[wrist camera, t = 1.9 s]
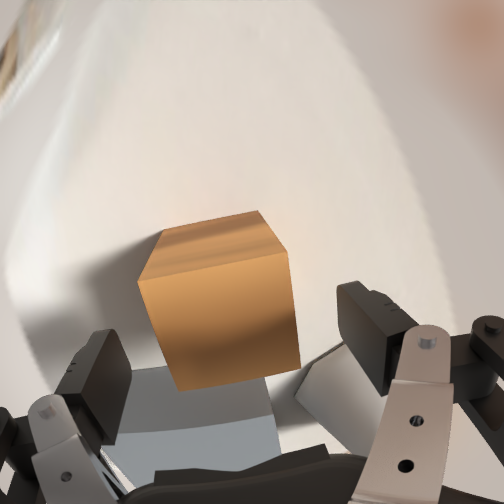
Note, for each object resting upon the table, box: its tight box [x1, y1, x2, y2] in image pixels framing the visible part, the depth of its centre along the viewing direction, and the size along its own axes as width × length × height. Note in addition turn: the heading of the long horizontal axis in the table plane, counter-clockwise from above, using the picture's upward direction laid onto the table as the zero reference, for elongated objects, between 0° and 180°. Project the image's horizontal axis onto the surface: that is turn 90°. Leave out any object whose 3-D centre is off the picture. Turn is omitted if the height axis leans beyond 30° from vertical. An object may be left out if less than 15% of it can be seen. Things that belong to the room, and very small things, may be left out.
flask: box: [294, 344, 388, 457], centre depth 15 cm, size 7×7×10 cm
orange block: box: [137, 211, 301, 392], centre depth 13 cm, size 4×4×6 cm
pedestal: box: [101, 366, 282, 488], centre depth 16 cm, size 9×9×5 cm
